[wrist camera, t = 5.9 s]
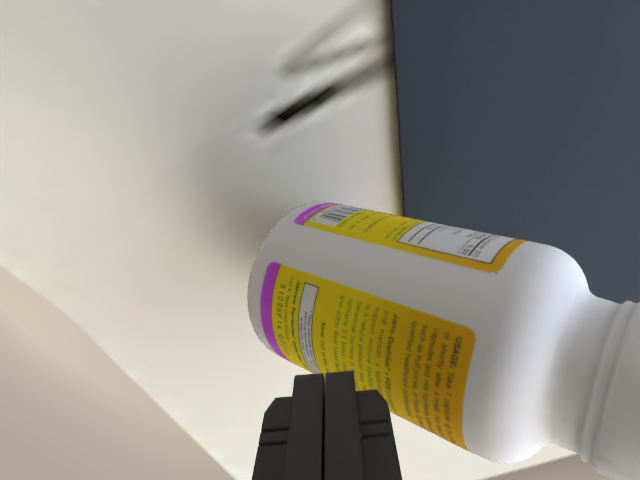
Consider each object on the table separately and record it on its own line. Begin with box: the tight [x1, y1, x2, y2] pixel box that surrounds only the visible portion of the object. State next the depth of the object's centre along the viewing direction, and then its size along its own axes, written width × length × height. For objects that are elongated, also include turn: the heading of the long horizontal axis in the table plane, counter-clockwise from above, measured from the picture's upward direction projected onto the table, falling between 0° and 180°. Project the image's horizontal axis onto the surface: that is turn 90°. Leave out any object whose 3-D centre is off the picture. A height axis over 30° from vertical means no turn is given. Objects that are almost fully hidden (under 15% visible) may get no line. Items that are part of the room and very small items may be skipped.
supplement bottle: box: [248, 202, 640, 480], centre depth 16 cm, size 7×7×13 cm
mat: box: [391, 0, 640, 304], centre depth 20 cm, size 18×14×1 cm
